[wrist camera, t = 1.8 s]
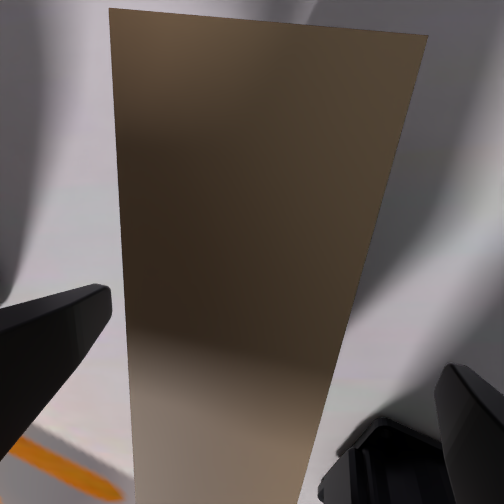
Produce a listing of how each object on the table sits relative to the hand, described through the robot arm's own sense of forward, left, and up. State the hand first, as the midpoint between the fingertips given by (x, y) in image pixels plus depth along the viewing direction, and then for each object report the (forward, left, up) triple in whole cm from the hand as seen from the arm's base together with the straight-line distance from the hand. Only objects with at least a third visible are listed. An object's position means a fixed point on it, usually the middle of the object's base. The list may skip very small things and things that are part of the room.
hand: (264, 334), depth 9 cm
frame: (0, 0, -5) cm, 5 cm away
